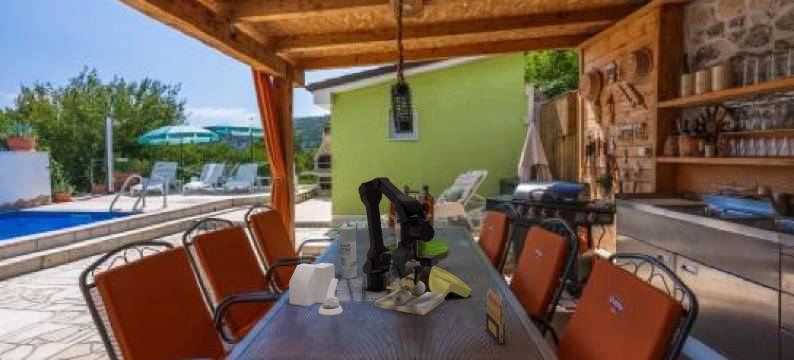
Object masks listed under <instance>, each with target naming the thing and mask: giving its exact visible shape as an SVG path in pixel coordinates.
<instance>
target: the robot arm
mask: <svg viewBox="0 0 794 360" xmlns="http://www.w3.org/2000/svg"><path fill="white" fill-rule="evenodd" d="M357 191H358V195H359V198H360V201H361V202H362V204H363V205H364V207H365V212H366V218H367V219H366V220H367V221H366V222H367V229H368V230H367V231H368V239H369V244H370V245H369V248H368V249H367V253H366V260H365V262H364V264H363V265H362V272H363V274H366V287H365V288H364V290H366V291H371V292H378V293H379V292H383V291H385V290H386V289H387V286H388V283H387V282H388V281H387V280H388V279H387V276H386V275H387V273H389V272H390V269H391V266H392V267H394V268H395V270H396V273H397V274H398V277H399V279H400V280H401V279H402V278H404V277H406V264H407V263H408V262H412V263H415V265H413V266H412V268H413V269H414V270H413V271H414V272H413V274H414V285H415V286H416V285H417V283H418V281H420V278H421V276H422V273H423V271H424V269H425V268H432V267H433V266H437V265H438V264H439V258H438V256H437V255H434V254H425V255H423V256H420V251H418V250H419V247H418V246H419V245H418V244H420V242H424V243H430V242H431V241H432V240H433V239H434V236H435V229H434V227H433V225H431V224H430V220H428V219H427V216H426V214H425V212H424V209H423V208H422V205H421V203H420V201H419V200H418V199H417V198H415V197H413V196H411V195H406V194H405V193H404V192H403V191H402V190H400V189H399V188H398V186H396V185H395V183H392V182H391V180H390V178H389V177H387V176H379V177H378V176H377V177H375V178H373V179H371V180H368V181H365V182H361V184H360V185H359V186H358V189H357ZM383 195H384V196H385V197H386V199H388V201H389V202H390V203H392V204H393V205H394V211H395V212H396V214H397V216H398V217H399V218H398V219H397V220H396V223H398V224H399V234H400V235H399V241H398V243H397V248H395V249H394V250H390V248H387V247H386V245H385V244H384V236H383V228H382V227H383V226H382V219H381V210H380V204H381V202H382V200H383ZM400 280H399V281H400Z"/></svg>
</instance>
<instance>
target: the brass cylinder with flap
mask: <svg viewBox="0 0 794 360" xmlns="http://www.w3.org/2000/svg"><path fill="white" fill-rule="evenodd" d="M419 281H420V280H419ZM419 281H418V283H417V285H416V286H418V284H419ZM416 286H415V285H414V273H410V274H408V275H405V277H404V278H402V279H401V280H399V282H398V281H394V282H393V283H390V284H387V289H389V290H394V291H396V290H401V289H405V290H407V291H409V290H410V289H412V288H414V287H416ZM409 292H410V291H409Z"/></svg>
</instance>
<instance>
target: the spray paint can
mask: <svg viewBox="0 0 794 360" xmlns="http://www.w3.org/2000/svg"><path fill="white" fill-rule="evenodd" d="M338 231H339V248H340V249H339V251H340V253H339V254H340V271H341V273H340V275H341V279H344V280H351V279H355V278H357V276H358V273H357V272H358V271H357V270H358V269H357V238H356V237H357V235H356V234H357V233H356V231H357V229H356V227H355V226H342V227H339V229H338Z"/></svg>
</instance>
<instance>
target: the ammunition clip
mask: <svg viewBox="0 0 794 360" xmlns="http://www.w3.org/2000/svg"><path fill="white" fill-rule="evenodd" d="M486 304H487V305H486V312H485V318H486V319H485V330H486V332H487V333H488V335H489V336H491V338H492V340H493V341H495V342H496V343H497V345H504V344H505V343H506V338H505V337H506V336H505V335H506V333H505V331H506V330H505V329H506V328H505V327H506V326H505V323H504V306H503V300H502V298H501V297H500V296H499V295H498V294H497V293H496V292H494V291H493V290H492V288H489V290H488V293H487V303H486Z"/></svg>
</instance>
